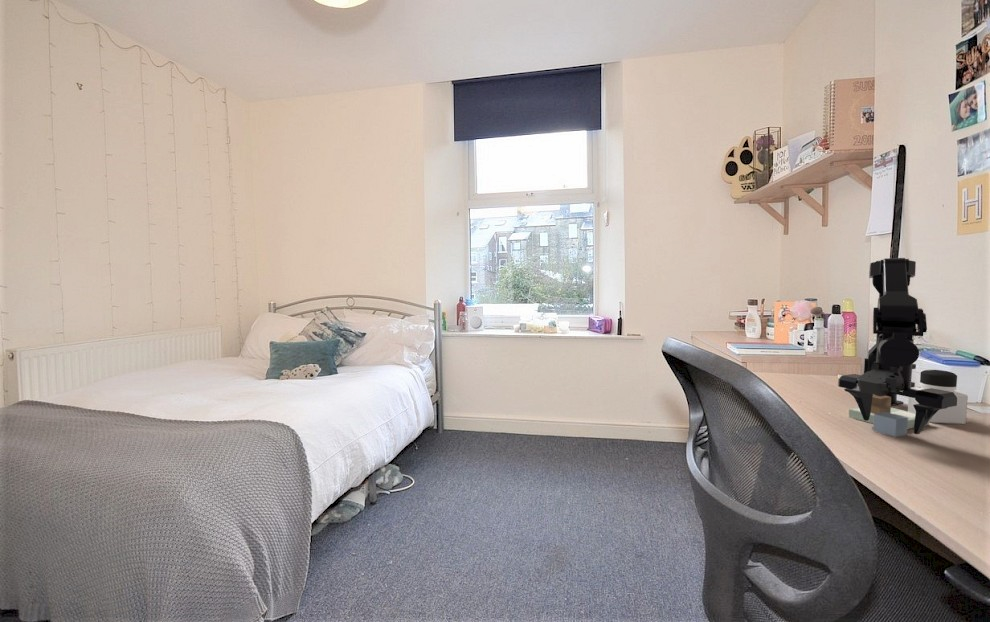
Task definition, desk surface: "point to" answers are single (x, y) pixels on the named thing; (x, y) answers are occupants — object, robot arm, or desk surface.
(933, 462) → the desk surface
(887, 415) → the slate block
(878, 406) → the walnut cube
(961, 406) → the medicine bottle
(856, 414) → the baseplate
